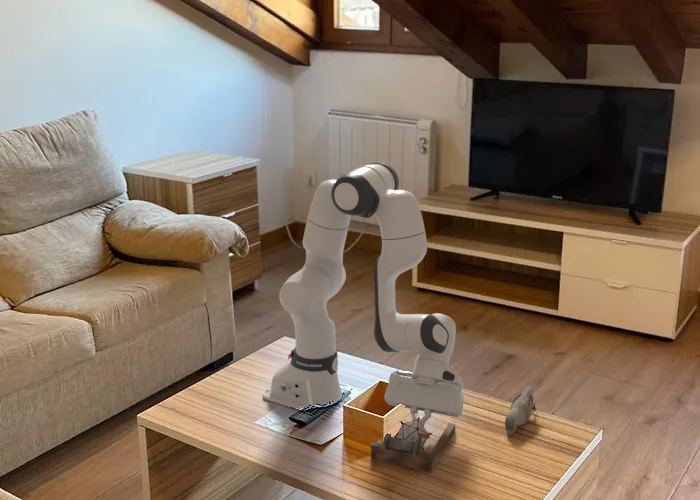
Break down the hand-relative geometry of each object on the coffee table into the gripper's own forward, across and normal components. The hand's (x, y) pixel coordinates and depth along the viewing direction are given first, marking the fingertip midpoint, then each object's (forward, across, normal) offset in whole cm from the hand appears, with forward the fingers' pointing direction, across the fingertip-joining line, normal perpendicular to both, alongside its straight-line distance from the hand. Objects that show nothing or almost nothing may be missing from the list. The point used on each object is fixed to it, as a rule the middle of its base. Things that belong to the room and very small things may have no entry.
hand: (417, 426), depth 212 cm
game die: (+6, 0, 0) cm, 6 cm away
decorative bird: (-10, +22, +17) cm, 29 cm away
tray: (+5, 0, +2) cm, 5 cm away
